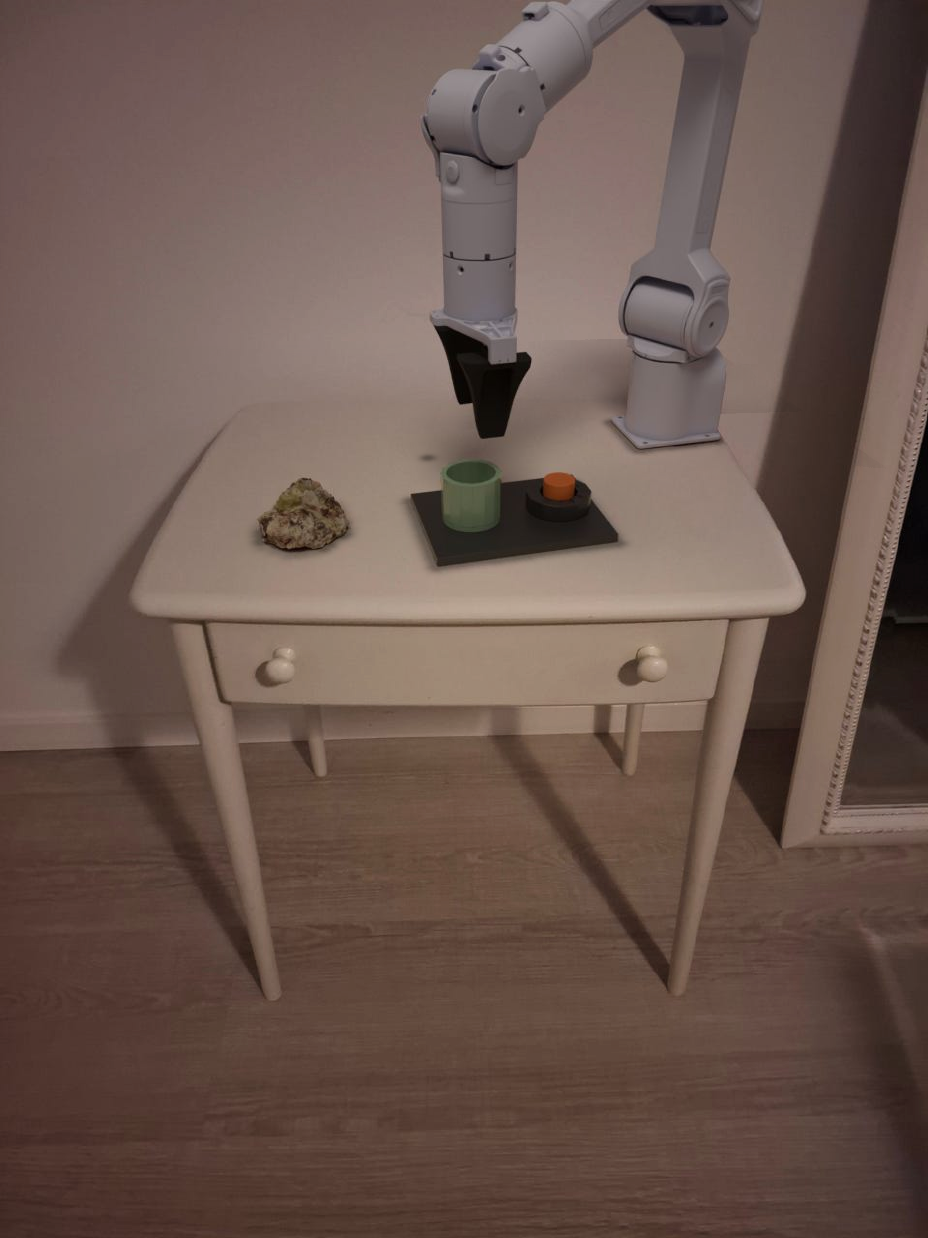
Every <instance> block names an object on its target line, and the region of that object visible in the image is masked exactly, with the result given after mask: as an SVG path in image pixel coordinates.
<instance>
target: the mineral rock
mask: <svg viewBox="0 0 928 1238" xmlns="http://www.w3.org/2000/svg"><path fill="white" fill-rule="evenodd" d="M256 520H257V522H258V524H259V525H258V526H259V530H260V533H261V541H262V542H263V543H265V544H267V543H270V544H273V545H275V546H277V547H278V548H279V549H286V548H287V549H288V550H290V549H295V548H297V549H299V548H304V547H307V548H310V549H312V550H315V549H319V548H324V547H325V545H326V544H330V543H331V542H332V541H333V540H335V539H336V538H339V537H342V536H343V535H344V534H345V532H347V527H348V525H350V520H348V519H347V516H346V513H345V510H343V508H342V505H341V504H340V503H339V502H338V501H337V500H336V499H335V496H333V495H332V494H331V493H329V491H327V490H326V489H324V488H323V486H322V484H321V482H320V481H317V480H313V479H312V477H311V478H307V477H300V478H298V479H296V481H294V482H291V484H290V485H289V487H288V488H286V489H285V491H282V493H281V494H280V495H279V496H278V498H277V499H276V501H275V504H274V505H272V508H270V510H269V511H268V510H267V511H264V512H263V513H262V514H261V515H260V516H258V518H256Z"/></svg>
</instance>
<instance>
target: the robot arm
mask: <svg viewBox="0 0 928 1238" xmlns="http://www.w3.org/2000/svg"><path fill="white" fill-rule="evenodd" d="M764 2H765V0H570V1H568V3H567V4H564V3H562V2H559V1H555V0H551V1H531V2H530V3H529V4H528V5H526V6H525V7H524V8H523V9H522V10H521V16H522V21H520V22H519V23H518V24H517V25H516V26H514V27H513V28H512V29H511V30H510V31H509V32H508V33H507V34H505V35H504V36H503V37H502V38H501V39H500V40H498V41H497V43H495V44H491V43H488V44H485V45H484V47H482V48H481V49H480V50H479V51H478V59H477V60H476V61H475V62H474V63H473V64H472V66H471V68H453V69H450V70H448V71H447V72H445V73H443V74H442V76H441V77H440V78H438V80H437V81H436V82H435V84H434V86H433V87H432V89H431V91H430V93H429V96H428V97H427V101H426V105H425V106H426V107H425V114H422V115H420V127H421V132H422V135H423V139H424V141H425V143H426V145H427V146H428V148H429V150H430V151H431V153H432V155H433V158H434V167H435V169H434V170H435V177H437V178H438V182H439V183H440V210H441V245H442V247H441V248H442V249H441V251H442V277H443V278H442V279H443V280H442V281H443V285H442V286H443V307H442V309H437V310H431V311H429V321H430V323H431V324H432V326H433V327H434V330H435V331H436V334H437V336H438V337H439V340H440V342H441V344H442V346H443V350H444V353H445V356H446V359H447V364H448V367H449V373H450V377H451V382H452V386H453V391H454V394H455V399H456V402H457V403H458V405H460V406H461V405H470V404H472V409H473V418H474V423H475V427H476V432H477V434H478V437H479V438H480V439H481V440H485V439H487V440H488V439H494V438H504V437H505V435H506V432H507V428H508V425H509V421H510V417H511V412H512V409H513V405H514V402H515V399H516V396H517V393H518V390H519V388H520V386H521V384H522V382H523V380H524V378H525V376H526V375H527V373H528V372H529V370H530V369H531V366H532V356H531V355H530V354H529V353H528V352H527V351H519V352H517V349H518V337H517V336H516V334H515V333H516V329H517V324H518V313H519V312H518V311H519V310H518V308H517V307H516V291H517V290H516V289H517V287H516V285H517V284H516V283H517V276H516V275H517V236H518V235H517V230H518V229H517V227H518V181H519V180H518V178H519V177H518V176H519V172H518V171H519V160H521V159H524V158H525V157H526V156H527V155H528V153H529V151H530V150H531V148H532V146H533V144H534V141H535V138H536V134H537V130H538V128H539V125H540V124H541V123H542V122H543V121H544V120H545V115H546V114H547V113H549V112H550V111H551V110H552V109H553V108H554V107H556V105H557V104H559V103H560V102H561V101H562V100H563V99H565V97H566V96H567V95H568V94H570V93H571V91H573V90H574V89H575V88H576V87H577V86H578V85H579V84H580V83H581V82H583V81H584V80H585V79H586V78H587V77H588V75H589V73H590V71H591V69H592V64H593V59H594V49H595V48H597V47H599V45H600V44H602V43H603V42H604V41H606V40H607V39H608V38H610V37H611V36H612V35H614V34H615V33H616V32H617V31H618V30H620V29H621V28H622V27H624V26H625V25H627V23H629V22H630V21H631V20H633V19H634V18H636V16H638V15H639V14H641V13H642V12H643V11H645V12H646V13H647V14H648V15H649V16H650V17H651V18H653V20H654V21H656V22H657V23H658V24H659V25H660V26H661V27H662V28H663V29H664V30H665V31H666V32H667V33H668V34H669V35H671V36H673V37H674V39H675V40H676V43H677V44H678V46H679V47H680V49H681V51H682V54H683V56H684V57H683V65H682V71H681V78H680V82H679V83H680V84H679V91H678V96H677V102H676V109H675V115H674V120H673V128H672V134H671V140H670V146H669V152H668V159H667V165H666V171H665V177H664V182H663V190H662V195H661V201H660V207H659V213H658V214H659V215H658V220H657V227H656V233H655V238H654V239H655V240H654V246H653V247H652V248H651V249H650V250H649V251H647V252H646V253H645V254H643V255H642V256H641V257H639V258H637V259H636V260H635V261H634V262H633V263H632V264H631V266H630V271H629V278H628V280H627V284H626V287H625V289H624V291H623V293H622V295H621V298H620V301H619V304H618V312H617V313H618V316H617V317H618V325H619V328H620V330H621V333H622V334H623V335H624V336H626V337H627V340H626V341H627V342H626V346H627V347H628V348H631V349H632V351H631V360H630V370H629V380H628V390H627V401H626V407H625V408H626V410H625V414H624V415H615V416H612V417H611V419H610V421H611V423H612V424H613V425H614V426H615V427H616V428H617V429H618V430H619V431H620V432H621V433H622V435H624V436H625V437H626V438H627V439H628V440H629V441H630V442H631V443H632V444H633V445H634V446H635V448H637V449H641V450H643V449H652V448H661V447H669V446H679V445H686V444H695V443H703V442H711V441H712V442H713V441H719V440H720V439H721V434H720V433H719V432H718V430H719V425H720V419H721V413H722V409H723V408H722V407H723V403H724V396H725V390H726V383H727V366H726V361H725V357H724V355H723V353H722V352H721V350H719V348H717V346H718V345H719V344H720V343H721V341H722V340H723V338H724V336H725V333H726V330H727V327H728V324H729V319H730V308H729V290H730V283H731V276H730V274H729V273H728V271H727V270H726V269H725V268H724V267H723V265H722V264H721V263H720V262H719V261H718V259H717V258H716V257H715V255H714V254H713V253H712V251H711V246H712V242H713V236H714V232H715V227H716V220H717V216H718V211H719V205H720V200H721V194H722V190H723V185H724V180H725V174H726V168H727V163H728V158H729V153H730V148H731V142H732V137H733V133H734V127H735V123H736V122H735V121H736V118H737V112H738V107H739V102H740V96H741V91H742V90H741V89H742V86H743V80H744V75H745V70H746V66H747V60H748V55H749V51H750V49H749V48H750V44H751V39H752V37H754V36H755V35H756V34H757V33H758V31H759V27H760V23H761V16H762V11H763V7H764Z"/></svg>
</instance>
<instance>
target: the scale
mask: <svg viewBox="0 0 928 1238" xmlns="http://www.w3.org/2000/svg"><path fill="white" fill-rule="evenodd" d="M569 474H570V473H569ZM570 475H572V476H573V477H574V478H575V490H574V496H573V498H571V499H567V500H553V499H549V498H546V497H544V496H543V481H544V477H538V478H530V479H529V478H528V479H522V480H513V481H505V482H502V483H501V518H500V522H499V523H498V524H497V525H496V526H495V527H493V528H491V529H489V530H486V531H481V532H461V531H456V530H453V529H451V528H449V527H448V526H446V525H445V524H444V522H443V520H442V510H441V489H438V490H432V491H431V490H429V491H423V492H415V493H414V492H413V493H410V503H411V505H412V509H413V511H414V513H415V515H416V518H417V520H418V523H419V526H420V528H421V530H422V533H423V536H424V537H425V540H426V542H427V545H428V547H429V551H430V553H431V555H432V557H433V560H434V562H435V565H436V567H437V568H439V567H446V566H447V567H448V566H454V565H461V564H469V563H476V562H483V561H491V560H497V559H505V558H513V557H519V556H520V557H521V556H528V555H535V554H542V553H549V552H555V551H565V550H572V549H578V548H579V549H580V548H584V547H593V546H601V545H607V544H614V543H615V544H616V543H618V542H619V541H618V540H619V532H617V530H616V529H615V528H614V526H613V525H612V524H611V522H610V521H609V519H607V517H606V516H605V514H604V513H603V512H602V511H601V510H600V508H599V507H598V506H597V504H596V503H595V502H594V501H593V499H592V490H591V488H590V487H589V486H588V484H586V483H585V482H582V481H580V480H578V479H577V478H576V477H575V475H573V474H572V473H571V474H570Z"/></svg>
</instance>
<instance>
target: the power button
mask: <svg viewBox="0 0 928 1238" xmlns="http://www.w3.org/2000/svg"><path fill="white" fill-rule="evenodd" d="M572 475H573V474H572ZM572 475H570V473H567V472H561V471H559V472H550V473H548V474H546V475H545V476H544V477H543V478H544V481H543V496H544V497H546V498H549V499H553V500H567V499H571V498H573V496H574V490H575V479H576V477H575V476H574V475H573V476H574V477H575V478H574V477H573V476H572Z"/></svg>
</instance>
